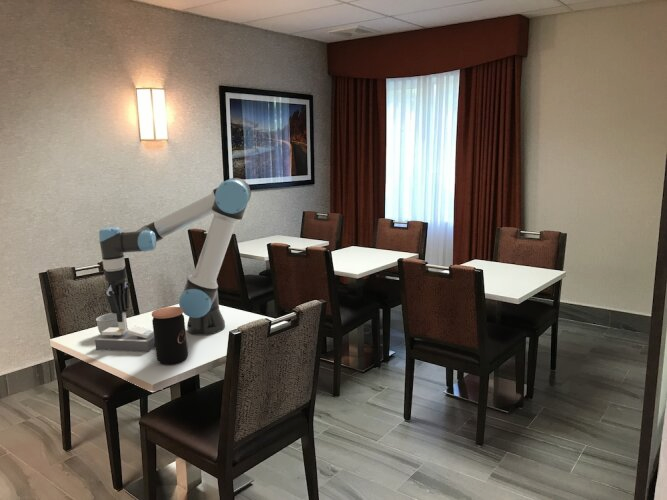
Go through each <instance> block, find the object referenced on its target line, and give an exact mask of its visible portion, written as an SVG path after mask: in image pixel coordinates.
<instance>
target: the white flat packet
mask: <svg viewBox="0 0 667 500" xmlns="http://www.w3.org/2000/svg"><path fill="white" fill-rule="evenodd" d="M128 333H129V334H133V335H136V336H140V337H143V338H148V337H150V336H151V335H153V334H154V331H153V330H152V329H150V328H149V329H148V328H144V327H141V326H138V325H133V326H132V327H130V328H128Z"/></svg>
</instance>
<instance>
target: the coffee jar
mask: <svg viewBox="0 0 667 500" xmlns="http://www.w3.org/2000/svg"><path fill="white" fill-rule="evenodd" d="M151 317H152V320H151V321H152V329H153V330H152V331H154V340H155V348H154V349H155V354H156V361H157V362H158V363H159V364H160V365H162V366H164V365H165V366H172V365H177V364H181V363H183V362H184V361H186V360H187V358H188V356H189V351H188V342H187V341H188V340H187V333H186V323H185V314H184V313H183V309H182V308H180V306H166V307H162V308H157V309H156V310H153V311H151Z"/></svg>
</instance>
